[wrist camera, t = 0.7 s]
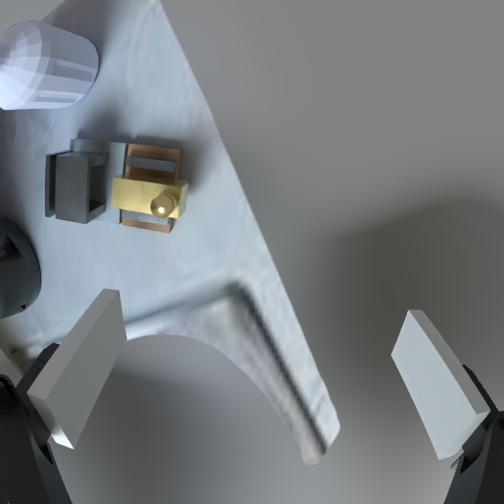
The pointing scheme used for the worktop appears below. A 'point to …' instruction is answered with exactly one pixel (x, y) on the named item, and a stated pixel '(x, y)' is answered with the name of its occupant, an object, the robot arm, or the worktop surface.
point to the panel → (116, 166)
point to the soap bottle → (44, 67)
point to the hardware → (88, 185)
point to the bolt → (149, 195)
